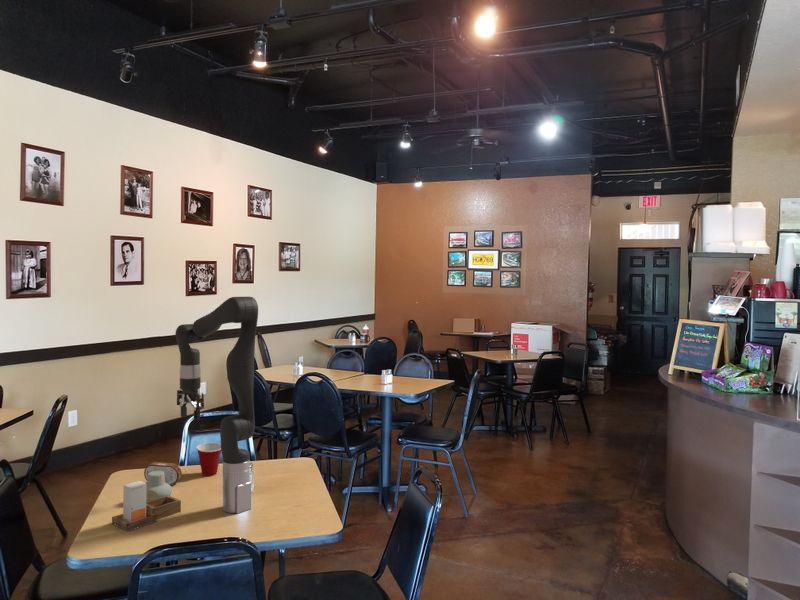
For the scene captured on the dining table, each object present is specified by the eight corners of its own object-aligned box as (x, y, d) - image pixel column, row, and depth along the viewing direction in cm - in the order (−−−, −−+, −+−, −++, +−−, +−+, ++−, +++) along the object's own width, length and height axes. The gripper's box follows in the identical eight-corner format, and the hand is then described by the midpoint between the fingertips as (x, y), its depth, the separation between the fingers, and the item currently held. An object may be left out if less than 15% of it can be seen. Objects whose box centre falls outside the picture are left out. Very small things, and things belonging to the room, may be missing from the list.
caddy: (183, 512, 208) (183, 501, 208) (127, 531, 192) (127, 519, 192) (167, 506, 214) (167, 495, 214) (111, 523, 198) (111, 511, 198)
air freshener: (135, 502, 218) (135, 475, 218) (150, 494, 226) (150, 468, 226) (162, 505, 215) (162, 477, 215) (175, 497, 223) (175, 470, 223)
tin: (182, 484, 238) (182, 463, 238) (178, 486, 235) (178, 465, 235) (147, 481, 241) (147, 461, 240) (142, 484, 237) (142, 463, 237)
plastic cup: (202, 480, 243) (202, 450, 243) (191, 473, 251) (191, 445, 251) (227, 474, 250) (227, 446, 250) (216, 468, 258) (216, 441, 258)
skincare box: (129, 524, 196) (129, 487, 195) (122, 520, 198) (122, 485, 198) (147, 518, 200) (147, 482, 200) (140, 515, 203) (140, 480, 203)
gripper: (209, 377, 227) (209, 419, 228) (188, 373, 236) (188, 414, 236) (192, 379, 221) (192, 423, 222) (170, 375, 230) (170, 417, 230)
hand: (190, 418), depth 229 cm, fingers open, 8 cm apart
